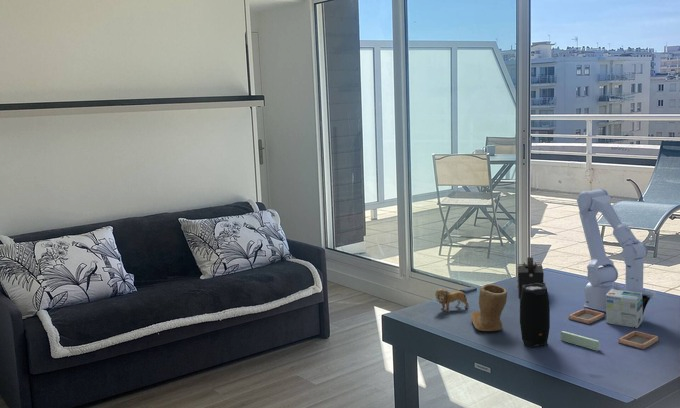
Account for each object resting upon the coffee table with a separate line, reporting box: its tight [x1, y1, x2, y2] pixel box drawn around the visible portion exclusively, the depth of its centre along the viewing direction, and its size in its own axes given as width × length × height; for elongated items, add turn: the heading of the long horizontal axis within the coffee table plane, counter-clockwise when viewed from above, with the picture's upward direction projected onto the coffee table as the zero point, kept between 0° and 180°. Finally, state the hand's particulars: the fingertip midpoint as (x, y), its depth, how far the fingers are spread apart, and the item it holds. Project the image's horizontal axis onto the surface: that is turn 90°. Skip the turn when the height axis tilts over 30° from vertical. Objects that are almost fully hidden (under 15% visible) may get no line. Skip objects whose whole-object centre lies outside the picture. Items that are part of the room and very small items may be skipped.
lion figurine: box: [434, 288, 469, 313], centre depth 262 cm, size 15×5×9 cm, turn 116°
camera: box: [516, 256, 547, 299], centre depth 274 cm, size 11×14×15 cm
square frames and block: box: [560, 308, 659, 351], centre depth 229 cm, size 32×29×3 cm
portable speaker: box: [519, 283, 551, 348], centre depth 222 cm, size 9×9×20 cm
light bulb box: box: [605, 289, 644, 329], centre depth 236 cm, size 11×7×11 cm, turn 52°
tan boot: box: [470, 283, 508, 332], centre depth 241 cm, size 15×12×15 cm
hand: (633, 314), depth 241 cm, fingers open, 5 cm apart
